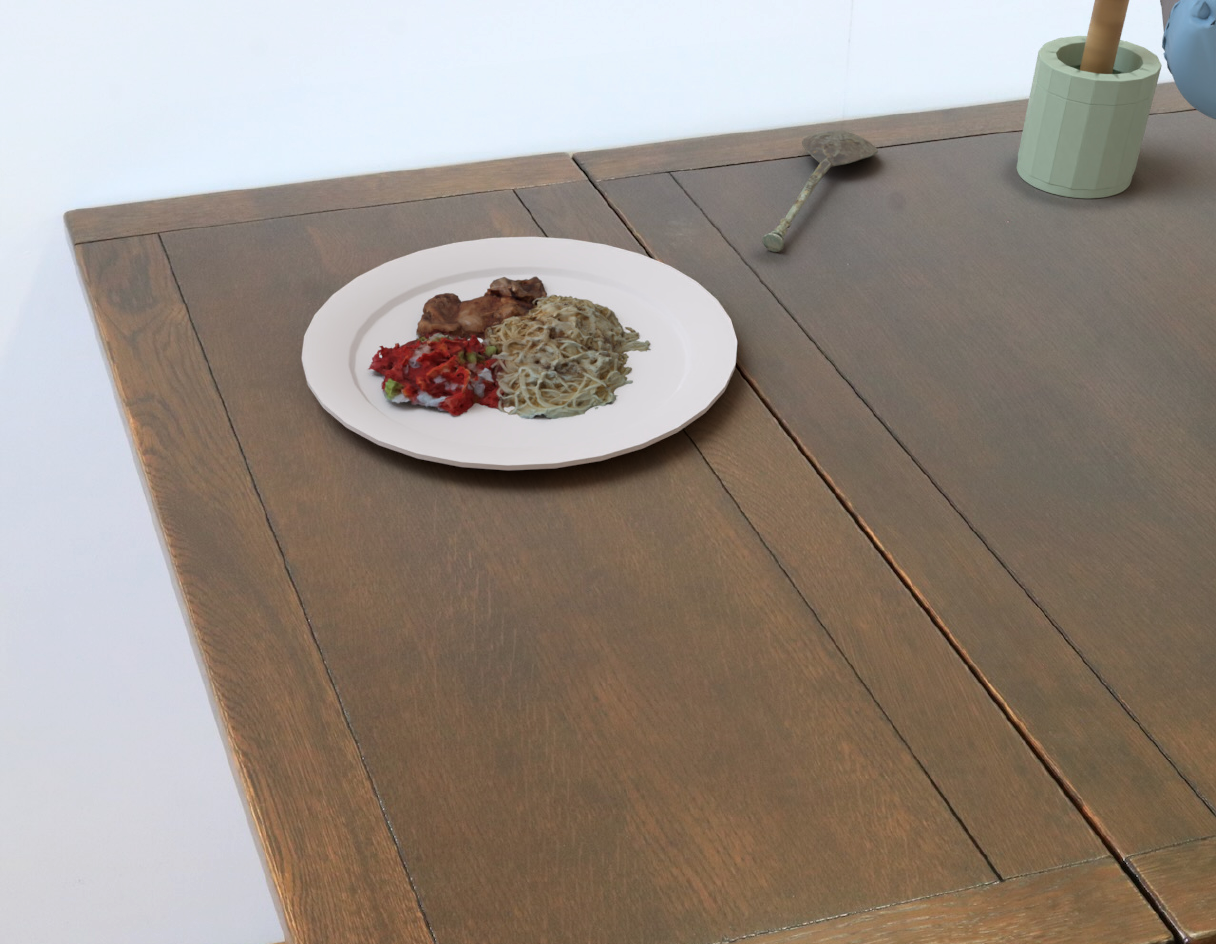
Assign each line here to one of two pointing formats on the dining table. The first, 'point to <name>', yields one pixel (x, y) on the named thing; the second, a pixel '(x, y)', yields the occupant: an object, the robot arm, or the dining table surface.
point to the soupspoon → (821, 171)
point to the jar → (1086, 120)
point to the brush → (1104, 36)
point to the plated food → (519, 353)
